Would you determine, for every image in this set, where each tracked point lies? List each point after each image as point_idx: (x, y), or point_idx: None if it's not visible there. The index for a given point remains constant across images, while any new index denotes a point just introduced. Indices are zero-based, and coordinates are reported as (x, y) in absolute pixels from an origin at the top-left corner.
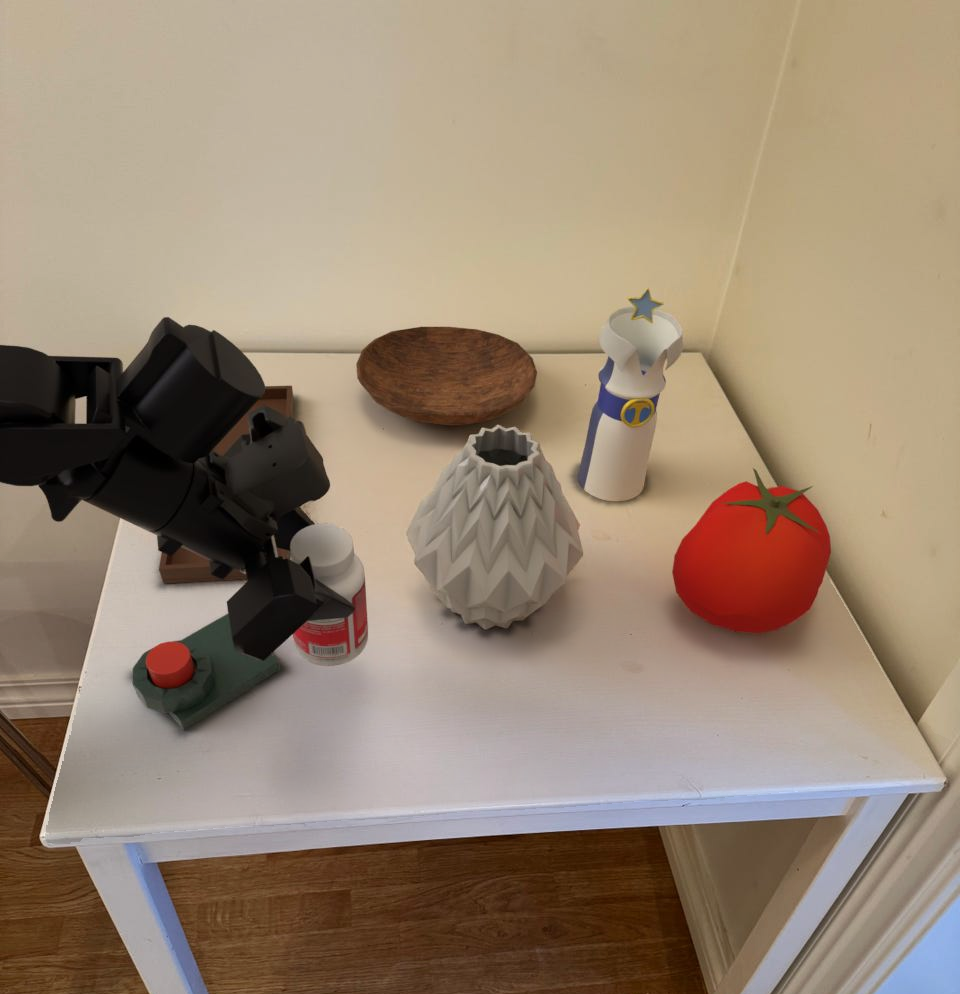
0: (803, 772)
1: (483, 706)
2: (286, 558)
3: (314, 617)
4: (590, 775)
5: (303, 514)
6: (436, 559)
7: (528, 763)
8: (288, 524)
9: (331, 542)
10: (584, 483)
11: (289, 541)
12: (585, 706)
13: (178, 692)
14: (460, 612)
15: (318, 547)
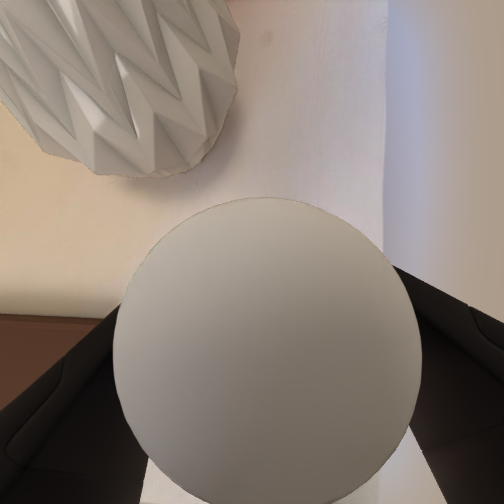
0: None
1: (292, 161)
2: (94, 325)
3: None
4: (367, 92)
5: (29, 409)
6: (164, 128)
7: (351, 136)
8: (80, 472)
9: (258, 297)
10: None
11: None
12: (301, 82)
13: None
14: (207, 151)
15: (286, 364)
